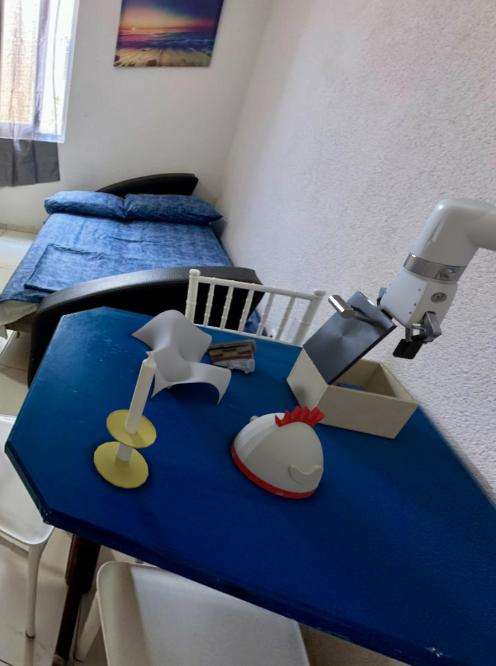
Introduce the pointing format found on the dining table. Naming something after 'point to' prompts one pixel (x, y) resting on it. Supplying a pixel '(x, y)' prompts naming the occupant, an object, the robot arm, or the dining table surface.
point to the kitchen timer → (282, 452)
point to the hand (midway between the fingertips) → (387, 343)
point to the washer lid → (347, 335)
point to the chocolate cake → (234, 354)
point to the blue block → (350, 386)
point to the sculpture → (180, 352)
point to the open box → (354, 397)
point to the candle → (129, 437)
